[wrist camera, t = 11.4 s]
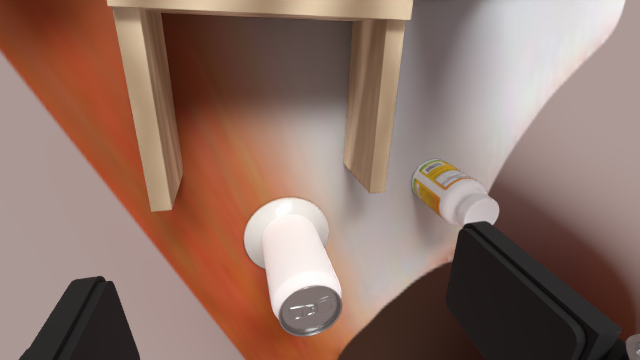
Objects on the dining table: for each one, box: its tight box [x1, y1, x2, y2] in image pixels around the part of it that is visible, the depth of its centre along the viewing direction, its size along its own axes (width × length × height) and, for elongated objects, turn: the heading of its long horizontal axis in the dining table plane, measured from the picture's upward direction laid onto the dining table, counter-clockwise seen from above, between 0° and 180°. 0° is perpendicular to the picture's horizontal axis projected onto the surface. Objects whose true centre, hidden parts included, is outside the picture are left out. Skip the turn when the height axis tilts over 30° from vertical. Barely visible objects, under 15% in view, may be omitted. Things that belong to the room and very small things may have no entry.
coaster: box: [244, 197, 329, 269], centre depth 40 cm, size 10×10×1 cm
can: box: [262, 214, 342, 337], centre depth 34 cm, size 6×6×12 cm
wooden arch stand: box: [107, 0, 413, 212], centre depth 29 cm, size 20×16×9 cm
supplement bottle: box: [412, 159, 499, 227], centre depth 38 cm, size 5×5×10 cm
